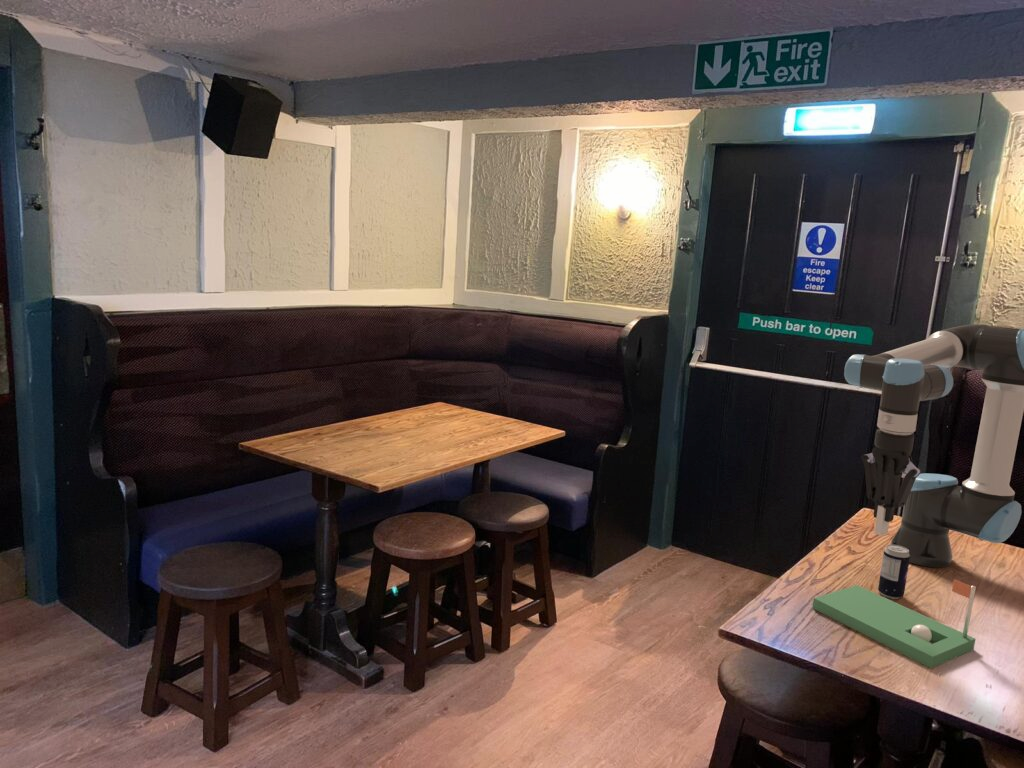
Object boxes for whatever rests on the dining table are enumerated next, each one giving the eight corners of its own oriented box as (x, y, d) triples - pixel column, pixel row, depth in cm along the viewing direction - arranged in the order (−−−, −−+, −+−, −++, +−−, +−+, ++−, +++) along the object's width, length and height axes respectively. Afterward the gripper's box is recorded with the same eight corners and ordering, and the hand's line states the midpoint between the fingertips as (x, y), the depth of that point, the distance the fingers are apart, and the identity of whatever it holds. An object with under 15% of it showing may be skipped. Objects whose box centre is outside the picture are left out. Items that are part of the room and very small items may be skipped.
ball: (914, 623, 168) (931, 621, 165) (921, 642, 167) (938, 640, 164) (903, 628, 166) (920, 626, 163) (911, 647, 165) (928, 645, 162)
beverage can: (906, 602, 185) (914, 554, 183) (880, 598, 186) (888, 551, 184) (899, 591, 190) (907, 545, 188) (874, 588, 191) (882, 542, 189)
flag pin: (944, 638, 168) (955, 578, 165) (965, 648, 164) (976, 586, 162) (942, 639, 167) (953, 579, 165) (963, 649, 164) (974, 587, 161)
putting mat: (855, 594, 187) (856, 585, 187) (973, 649, 164) (975, 638, 163) (812, 608, 179) (813, 598, 178) (930, 668, 156) (932, 656, 155)
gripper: (857, 425, 171) (844, 526, 176) (914, 440, 160) (898, 547, 165) (878, 421, 175) (864, 520, 180) (934, 436, 164) (918, 540, 169)
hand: (880, 533), depth 172 cm, fingers closed
